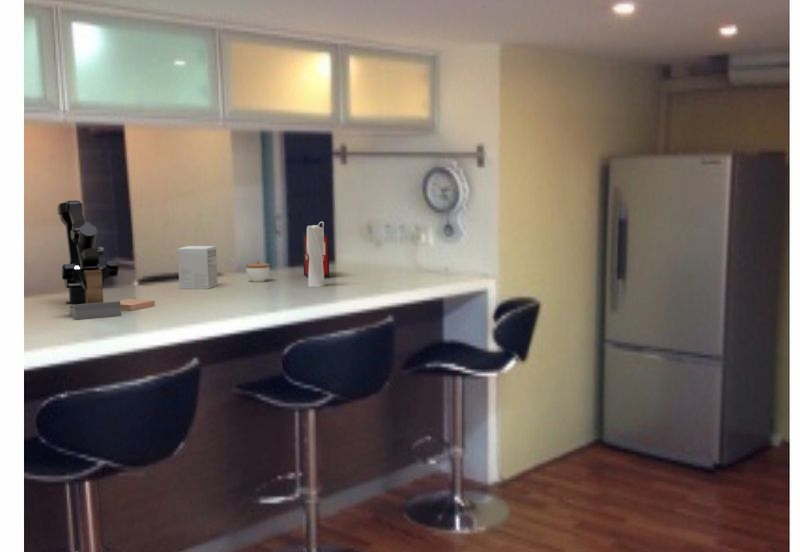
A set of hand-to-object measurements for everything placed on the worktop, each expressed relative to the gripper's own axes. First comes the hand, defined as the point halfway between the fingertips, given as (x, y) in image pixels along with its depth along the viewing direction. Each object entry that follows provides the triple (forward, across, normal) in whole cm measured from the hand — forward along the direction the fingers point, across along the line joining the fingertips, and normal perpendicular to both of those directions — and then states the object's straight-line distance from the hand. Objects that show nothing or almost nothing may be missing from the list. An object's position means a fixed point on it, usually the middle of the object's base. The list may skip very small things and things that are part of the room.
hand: (94, 288), depth 289 cm
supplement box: (-30, +52, +44) cm, 75 cm away
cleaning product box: (-33, +110, +47) cm, 124 cm away
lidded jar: (-33, +81, +47) cm, 99 cm away
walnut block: (+3, 0, +5) cm, 6 cm away
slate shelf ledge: (+6, 0, +8) cm, 10 cm away
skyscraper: (-11, +96, +25) cm, 100 cm away
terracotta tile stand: (-2, +15, +15) cm, 21 cm away
